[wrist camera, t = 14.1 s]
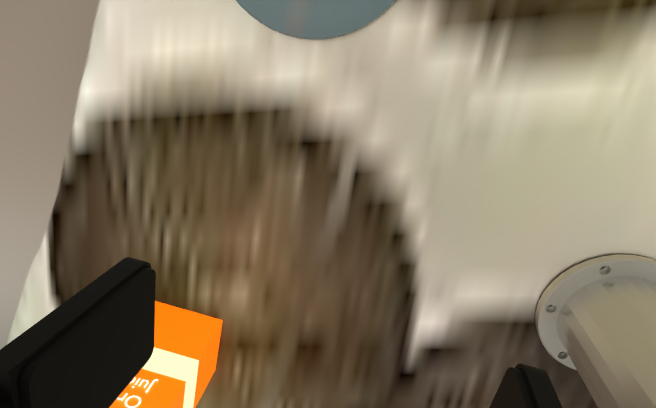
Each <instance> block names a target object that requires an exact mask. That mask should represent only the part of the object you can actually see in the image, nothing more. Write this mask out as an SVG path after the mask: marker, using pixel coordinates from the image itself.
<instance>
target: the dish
mask: <svg viewBox="0 0 656 408" xmlns="http://www.w3.org/2000/svg"><path fill="white" fill-rule="evenodd" d="M236 1H237V2H238V4H239V5H240V6H241V7H242V8H243V9H244V10H246V11H247V12H248V13H249V14H250V15H251V16H252V17H254V18H255V19H256V20H258V21H259V22H260V23H262V24H264V25H266V26H267V27H269V28H271V29H273V30H275V31H278V32H280V33H283V34H285V35H289V36H293V37H297V38H305V39H328V38H334V37H339V36H343V35H346V34H349V33H352V32H354V31H357V30H358V29H360V28H362V27H364V26H366V25H368V24H369V23H371V22H372V21H374V20H375V19H377V18H378V17H380V16H381V15H382V14H383V13H384V12H385V11H386V10H387V9H388V8H389V7H391V5H392V4H393V3H394V2H395V1H396V0H236Z"/></svg>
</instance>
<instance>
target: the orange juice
mask: <svg viewBox="0 0 656 408" xmlns="http://www.w3.org/2000/svg"><path fill="white" fill-rule="evenodd" d="M222 321H223V320H220V319H217V318H213V317H210V316H206V315H203V314H199V313H196V312H192V311H189V310H185V309H182V308H178V307H174V306H171V305H167V304H164V303H160V302H157V301H155V328H154V350H153V353H152V355H151V357H150V359H149V360H148V362H147V363H146V364H145V365H144V367H143V368H142V369H141V370H140V371H139V373H138V374H137V375H136V376H135V377H134V379H133V380H132V381H131V382H130V383H129V385H128V386H127V387H126V388H125V389H124V391H123V392H122V393H121V394H120V395H119V397H118V398H117V399H116V400H115V401H114V403H113V404H112V405H111V406H110V407H109V408H195V407H196V405H197V403H198V402H199V400H200V398H201V396H202V394H203V392H204V390H205V388H206V387H207V385H208V383H209V381H210V379H211V377H212V375H213V373H214V371H215V369H216V362H217V356H218V349H219V342H220V335H221V328H222Z"/></svg>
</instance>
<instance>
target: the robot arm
mask: <svg viewBox="0 0 656 408" xmlns="http://www.w3.org/2000/svg"><path fill="white" fill-rule="evenodd" d="M155 279H156V274H155V271H154V270H153V269H151V265H150V263H148V262H145V261H141V260H137V259H134V258H130V257H127V258H125V259H123V260H122V261H120V262H119V263H117V264H116V265H115V266H113V267H112V268H111V269H109V270H108V271H107V272H105V273H104V274H103V275H101V276H100V277H98V278H97V279H96V280H94V281H93V282H92V283H90V284H89V285H88V286H86V287H85V288H84V289H82V290H81V291H79V292H78V293H77V294H75V295H74V296H73V297H71V298H70V299H69V300H67V301H66V302H65V303H63V304H62V305H60V306H59V307H58V308H56V309H55V310H54V311H52V312H51V313H50V314H48V315H47V316H46V317H44V318H43V319H41V320H40V321H39V322H37V323H36V324H35V325H33V326H32V327H31V328H29V329H28V330H27V331H25V332H24V333H22V334H21V335H20V336H18V337H17V338H16V339H14V340H13V341H12V342H10V343H9V344H8V345H6V346H5V347H4V348H2V349H1V350H0V408H109V407H110V406H111V405H112V404H113V403H114V401H115V400H116V399H117V398H118V397H119V395H120V394H121V393H122V392H123V391H124V389H125V388H126V387H127V386H128V385H129V383H130V382H131V381H132V380H133V379H134V377H135V376H136V375H137V374H138V373H139V371H140V370H141V369H142V368H143V367H144V365H145V364H146V363H147V362H148V360H149V359H150V357H151V355H152V353H153V350H154V328H155ZM535 326H536V329H537V333H538V336H539V338H540V340H541V342H542V344H543V346H544V347H545V349H546V350H547V351H548V353H549V354H550V355H551V356H552V357H553V358H554V359H555V360H557V361H558V362H560V363H562V364H563V365H565V366H567V367H569V368H571V369H574V370H577V371H578V373H579V375H580V376H581V378H582V380H583V382H584V384H585V385H586V387H587V389H588V391H589V393H590V394H591V396H592V398H593V400H594V401H595V403H596V405H597V407H598V408H656V261H655V260H653V259H650V258H647V257H642V256H637V255H620V254H617V255H609V256H602V257H598V258H594V259H590V260H587V261H585V262H582V263H580V264H578V265H575V266H573V267H572V268H570V269H568V270H567V271H565V272H564V273H562V274H561V275H559V276H558V277H557V278H556V279H555V280H554V281H553V282H552V283H551V284H550V285H549V286H548V287H547V289H546V290H545V291H544V292H543V294H542V296H541V298H540V300H539V302H538V305H537V309H536V313H535ZM489 408H562V406H561V404H560V401H559V399H558V397H557V395H556V392H555V390H554V388H553V385H552V383H551V381H550V378H549V376H548V374H547V373H546V371H544V370H542V369H539V368H535V367H531V366H528V365H524V364H518V365H517V366H516V367H515V368H512V367H510V368H509V369H508V370H507V371H506V374H505V376H504V378H503V380H502V382H501V384H500V386H499V388H498V391H497V393H496V395H495V397H494V399H493V401H492V403H491V405H490V407H489Z"/></svg>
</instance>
